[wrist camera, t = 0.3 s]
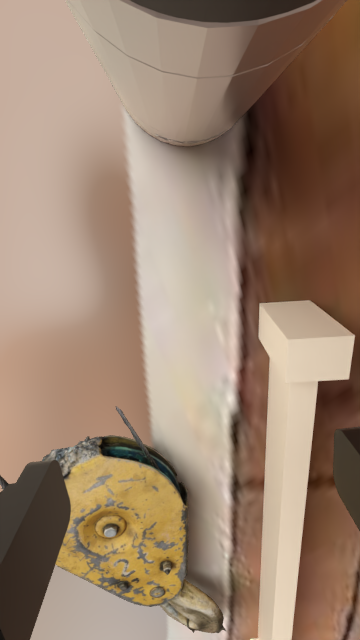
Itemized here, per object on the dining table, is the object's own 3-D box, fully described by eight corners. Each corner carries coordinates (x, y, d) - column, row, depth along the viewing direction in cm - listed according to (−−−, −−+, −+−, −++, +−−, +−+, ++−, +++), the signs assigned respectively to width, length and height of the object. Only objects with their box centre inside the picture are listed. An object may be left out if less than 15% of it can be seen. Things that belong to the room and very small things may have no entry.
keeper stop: (259, 303, 26) (288, 339, 20) (309, 300, 26) (354, 335, 20) (249, 652, 44) (263, 733, 37) (280, 650, 44) (299, 731, 37)
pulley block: (147, 693, 35) (-38, 506, 25) (144, 628, 41) (-9, 454, 31) (266, 630, 35) (128, 419, 25) (247, 574, 41) (127, 383, 31)
